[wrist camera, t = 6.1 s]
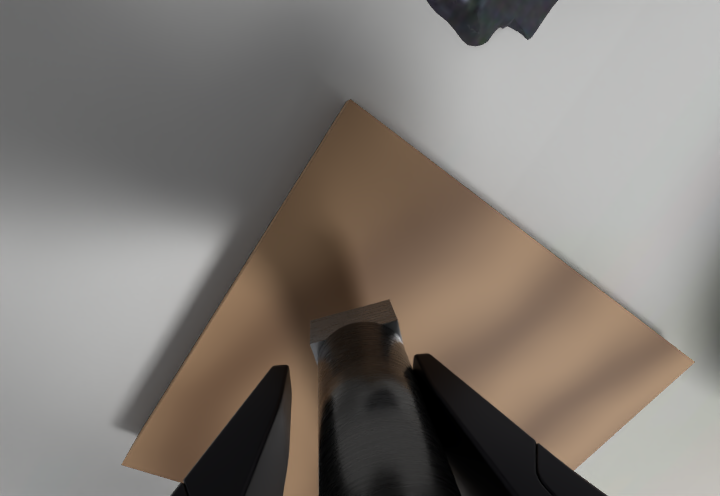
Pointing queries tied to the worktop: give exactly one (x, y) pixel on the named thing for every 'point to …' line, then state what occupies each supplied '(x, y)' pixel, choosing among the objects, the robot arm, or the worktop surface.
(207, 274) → the worktop surface
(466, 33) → the dark slate chunk
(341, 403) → the lever
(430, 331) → the tan wooden panel
